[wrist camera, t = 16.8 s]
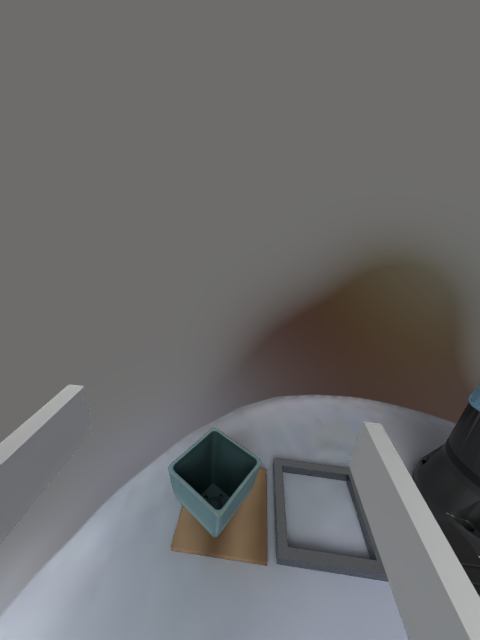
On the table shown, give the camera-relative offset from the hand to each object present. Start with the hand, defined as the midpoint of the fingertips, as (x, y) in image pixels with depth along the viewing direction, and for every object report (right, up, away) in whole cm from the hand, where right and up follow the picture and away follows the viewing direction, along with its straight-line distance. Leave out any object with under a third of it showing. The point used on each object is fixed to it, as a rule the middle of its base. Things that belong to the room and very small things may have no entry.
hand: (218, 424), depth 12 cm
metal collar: (+13, -23, +24) cm, 36 cm away
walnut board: (-1, -22, +24) cm, 33 cm away
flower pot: (-3, -22, +23) cm, 32 cm away
